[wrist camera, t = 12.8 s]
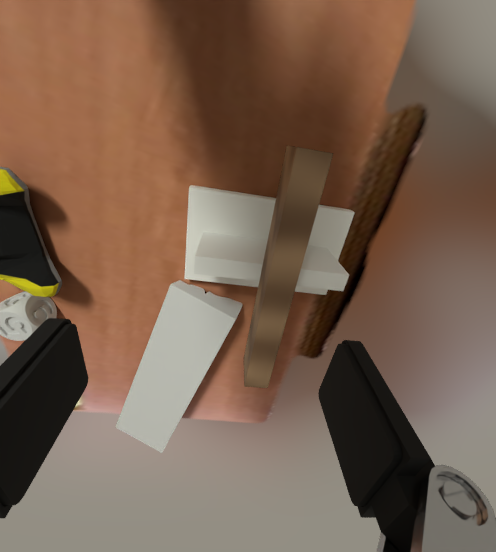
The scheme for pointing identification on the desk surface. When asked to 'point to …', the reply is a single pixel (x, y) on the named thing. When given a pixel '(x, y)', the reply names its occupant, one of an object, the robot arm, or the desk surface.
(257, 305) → the walnut batten
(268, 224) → the stand
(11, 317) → the die
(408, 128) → the desk surface
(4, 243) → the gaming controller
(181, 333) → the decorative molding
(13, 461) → the robot arm
